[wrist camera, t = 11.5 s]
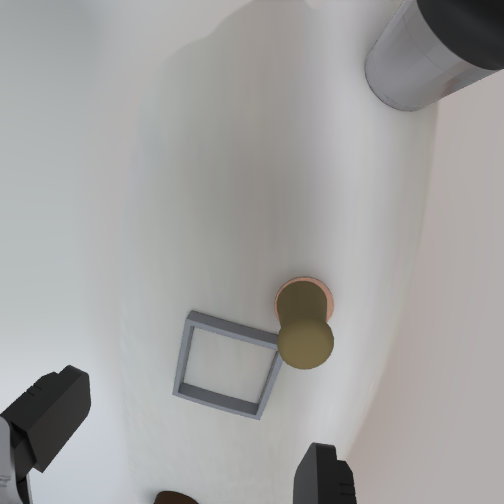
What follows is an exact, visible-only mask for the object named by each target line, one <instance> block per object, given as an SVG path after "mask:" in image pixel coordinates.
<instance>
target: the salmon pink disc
mask: <svg viewBox="0 0 504 504" xmlns="http://www.w3.org/2000/svg"><path fill="white" fill-rule="evenodd" d="M296 281H309V282H313V283H315V284H316V285H318V286H319V287H320V288H321V289H322V290H323V291H324V293H325V295H326V298H327V321H326V323H327V322H328V321H329V319H330V317H331V315H332V312H333V308H334V302H333V298H332V295H331V292H330V290H329V289H328V287H327V286H326V285H325V284H324V283H322V282H321V281H319V280H317V279H314V278H311V277H299V278H295V279H292V280H290V281H289V282H287V283H286V284H284V285H283V286H282V287H281V289H280V290H279V292H278V293H277V296H276V299H275V314H276V316H277V318H278V320H279V316H278V312H277V304H276V302H277V299H278V295H279V294H280V292H281V291H282V289H283V288H285V287H286V286H287V285H289V284H290V283H293V282H296ZM279 322H280V320H279Z"/></svg>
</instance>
